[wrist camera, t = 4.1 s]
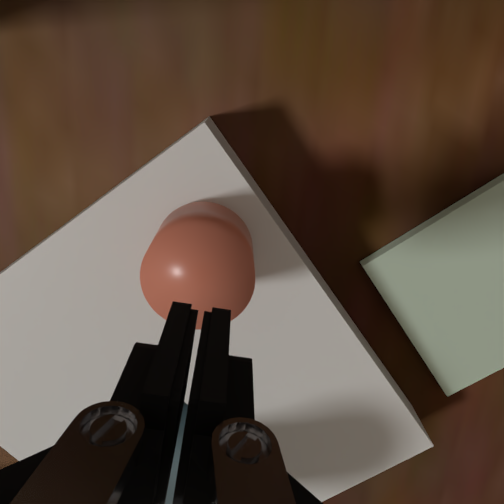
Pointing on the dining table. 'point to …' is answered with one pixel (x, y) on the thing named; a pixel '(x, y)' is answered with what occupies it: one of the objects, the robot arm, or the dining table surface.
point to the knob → (199, 261)
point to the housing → (241, 329)
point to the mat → (450, 287)
